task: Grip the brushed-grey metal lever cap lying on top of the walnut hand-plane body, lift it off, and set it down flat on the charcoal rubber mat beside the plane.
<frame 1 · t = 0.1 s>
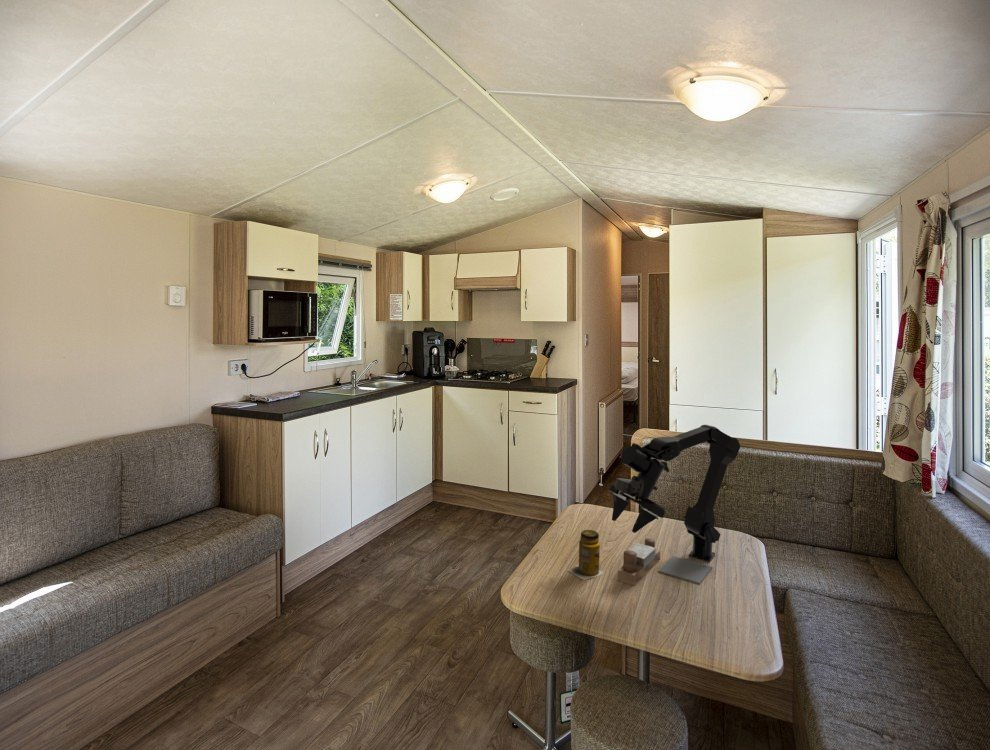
hand: (622, 526, 154), 15 cm above the table, tool tilted 30°, fingers open, 9 cm apart
plane body: (639, 569, 159), on the table
lever cap: (639, 560, 159), point 3 cm above the table, touching plane body
condiment: (586, 572, 158), on the table
rubber mat: (685, 570, 159), on the table
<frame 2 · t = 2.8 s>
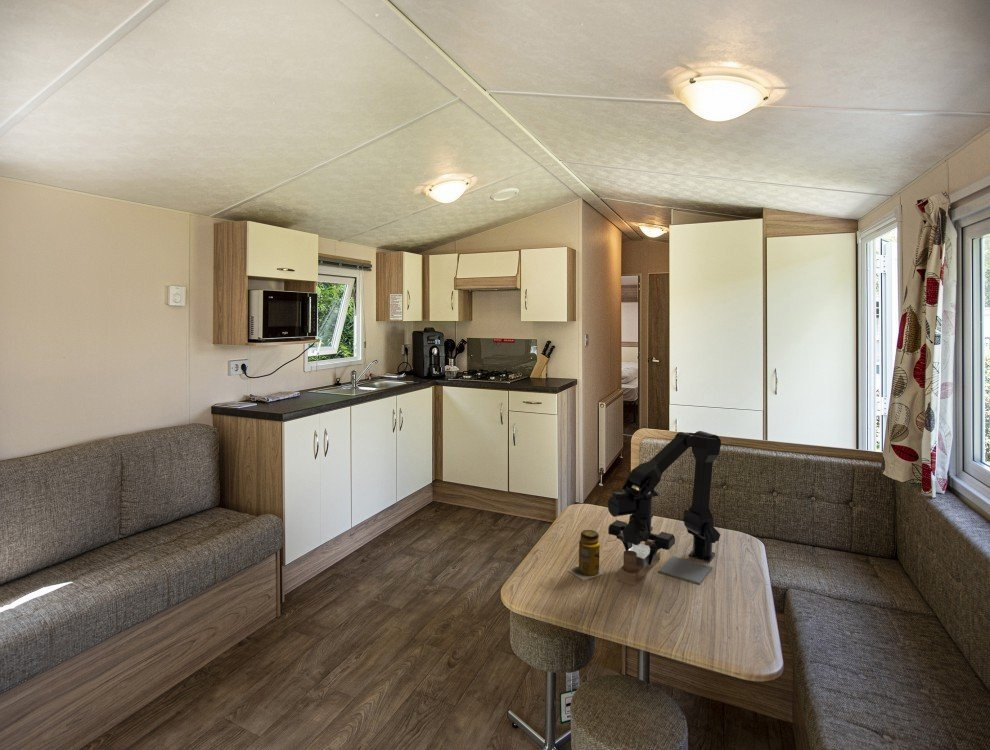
hand: (639, 561, 159), 3 cm above the table, tool pointing down, fingers closed on lever cap, 6 cm apart
lever cap: (639, 560, 159), point 3 cm above the table, touching gripper, plane body
everything else where it was.
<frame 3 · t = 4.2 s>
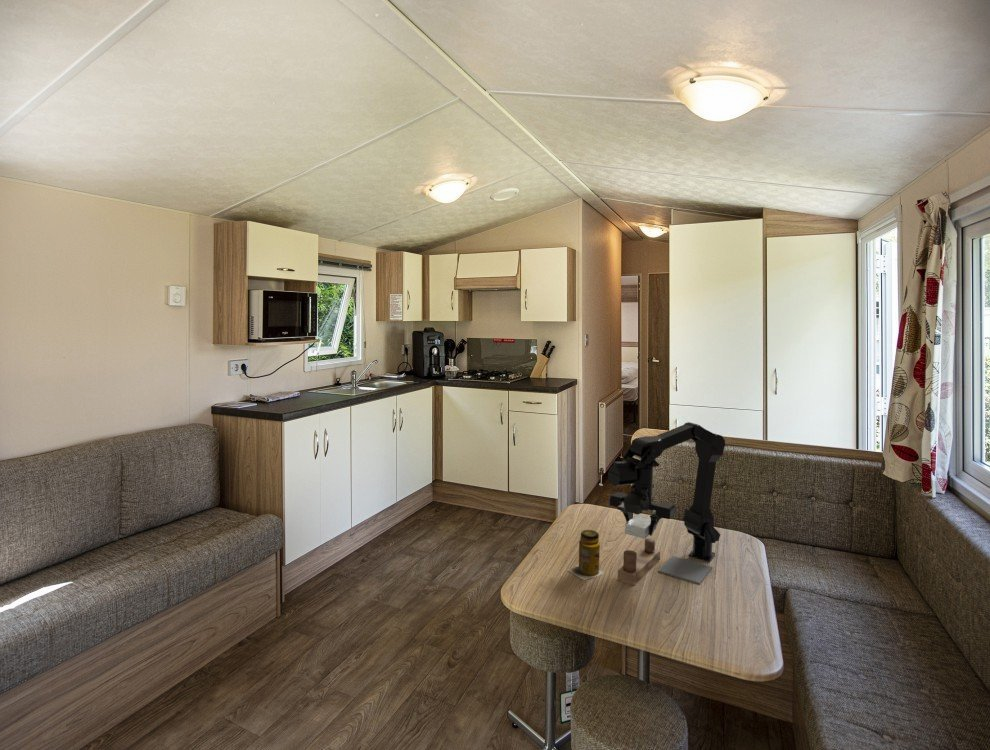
hand: (640, 532, 158), 12 cm above the table, tool pointing down, fingers closed on lever cap, 6 cm apart
lever cap: (640, 531, 158), point 12 cm above the table, touching gripper
everything else where it was.
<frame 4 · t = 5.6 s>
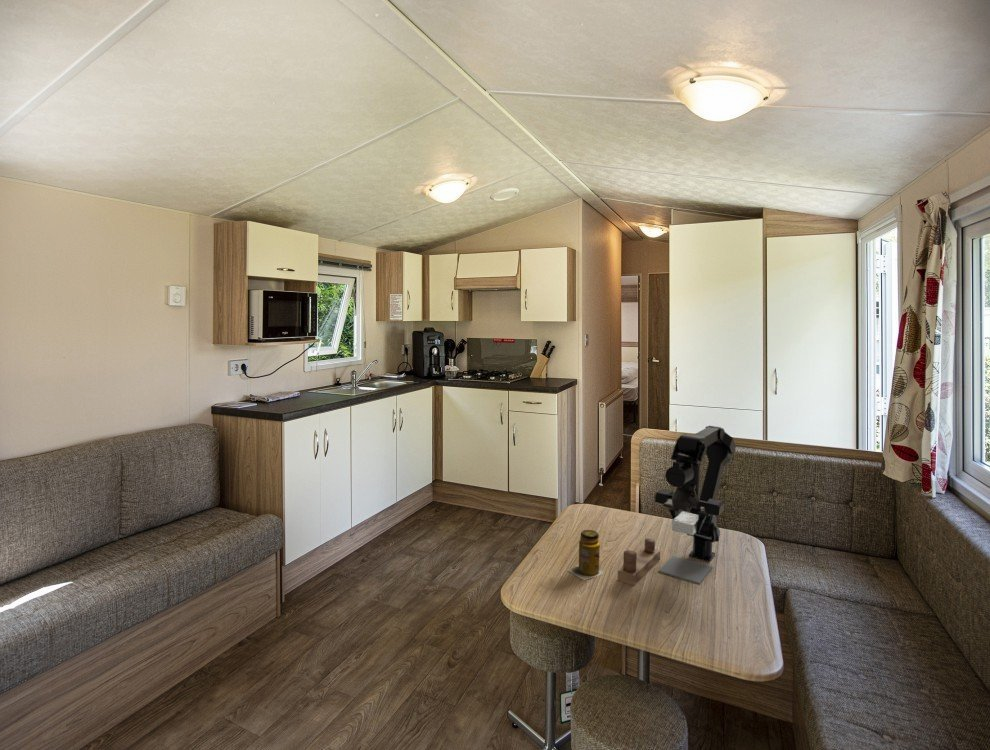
hand: (687, 529, 157), 13 cm above the table, tool pointing down, fingers closed on lever cap, 6 cm apart
lever cap: (687, 527, 157), point 13 cm above the table, touching gripper
everything else where it was.
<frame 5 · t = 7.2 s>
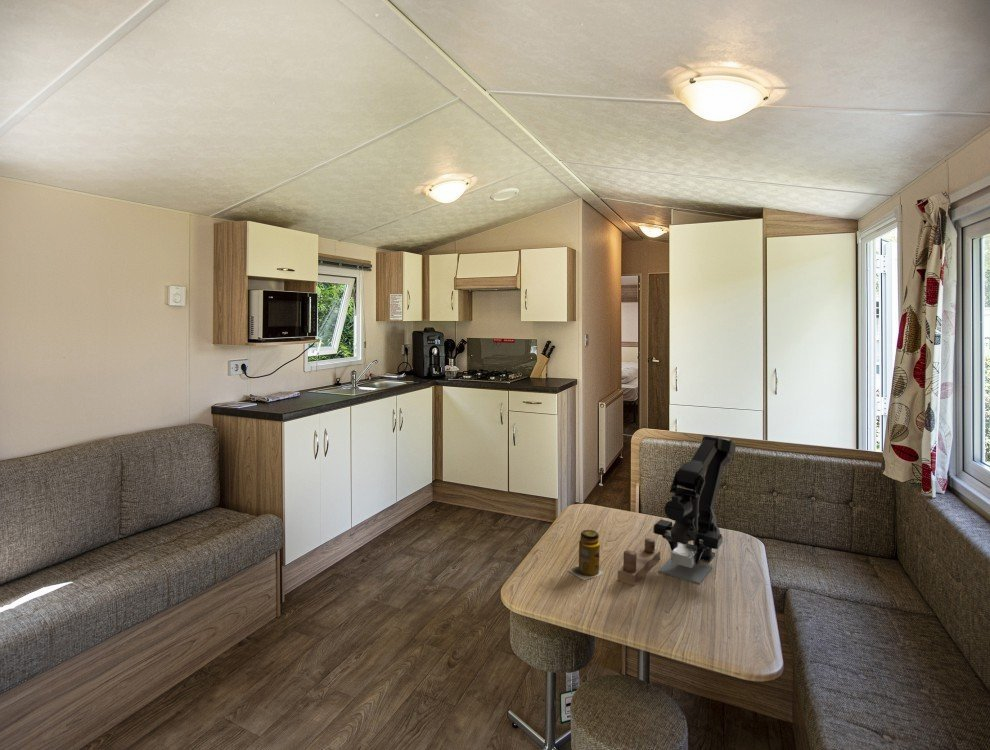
hand: (685, 560, 158), 3 cm above the table, tool pointing down, fingers closed on lever cap, 6 cm apart
lever cap: (685, 559, 158), point 3 cm above the table, touching gripper
everything else where it was.
when the fingers open (1 cm above the table, at t = 8.5 s): lever cap drops 1 cm, resting on rubber mat.
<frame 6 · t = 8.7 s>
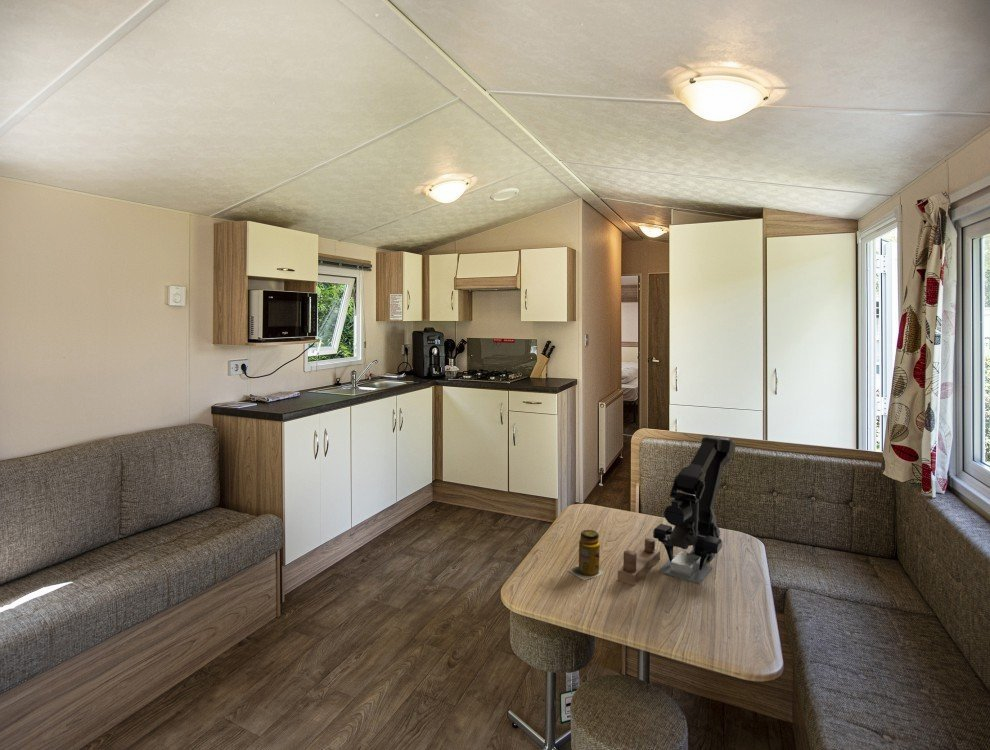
hand: (685, 565, 158), 1 cm above the table, tool pointing down, fingers open, 8 cm apart
lever cap: (685, 568, 159), resting on rubber mat
everything else where it was.
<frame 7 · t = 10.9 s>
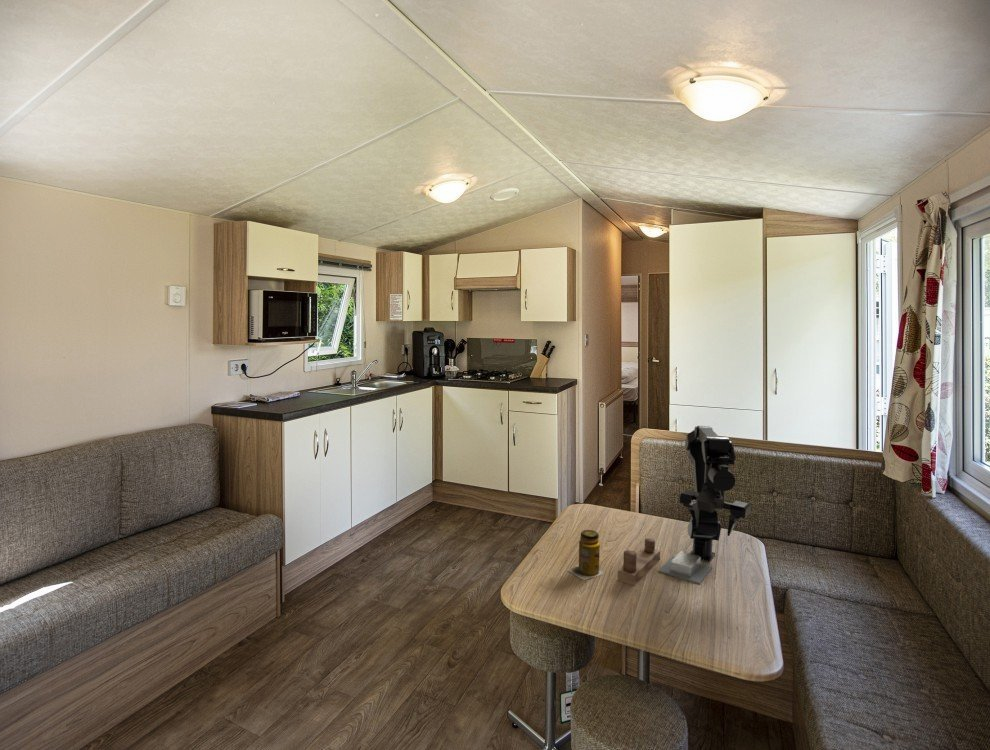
hand: (712, 531, 155), 13 cm above the table, tool pointing down, fingers open, 9 cm apart
nothing on the table moved.
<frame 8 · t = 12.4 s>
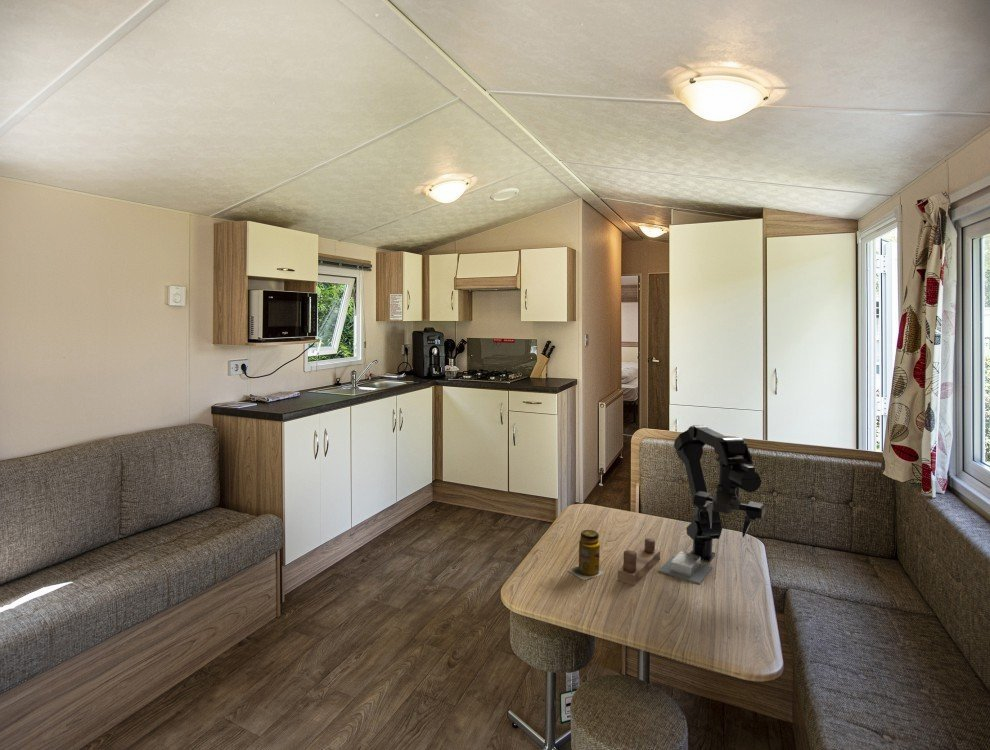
hand: (726, 532, 154), 13 cm above the table, tool pointing down, fingers open, 9 cm apart
nothing on the table moved.
at the end: lever cap inside the target area on the rubber mat (0.0 cm from its centre), point 0.5 cm above the rubber mat's base; the gripper is holding nothing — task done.
